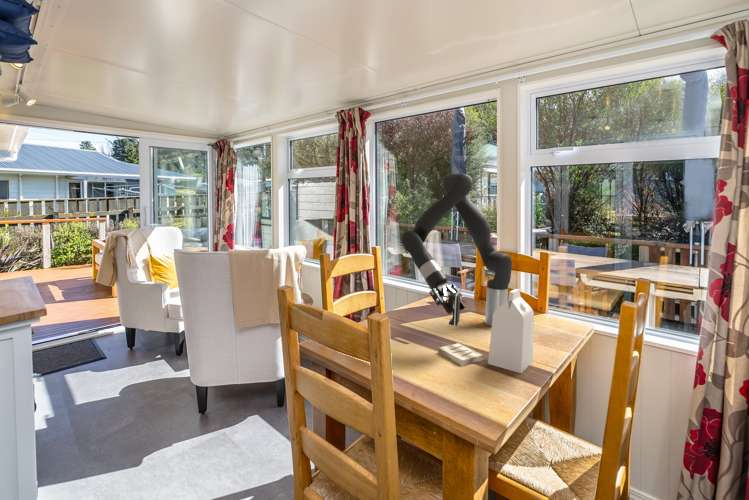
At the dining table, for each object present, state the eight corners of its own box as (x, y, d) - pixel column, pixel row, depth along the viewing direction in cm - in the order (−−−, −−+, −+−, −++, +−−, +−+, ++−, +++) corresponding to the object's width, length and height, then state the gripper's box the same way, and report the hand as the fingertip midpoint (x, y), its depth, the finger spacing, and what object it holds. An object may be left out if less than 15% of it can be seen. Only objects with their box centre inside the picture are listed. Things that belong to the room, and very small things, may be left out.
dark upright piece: (449, 320, 148) (450, 290, 146) (459, 321, 146) (461, 291, 145) (446, 325, 141) (447, 294, 140) (456, 326, 140) (458, 295, 138)
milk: (501, 353, 145) (504, 285, 142) (532, 361, 138) (537, 290, 135) (487, 363, 136) (491, 291, 133) (521, 373, 129) (525, 296, 125)
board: (458, 348, 150) (458, 342, 150) (483, 360, 139) (483, 354, 138) (438, 352, 145) (438, 347, 145) (462, 365, 134) (462, 360, 134)
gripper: (427, 271, 142) (452, 308, 135) (450, 266, 152) (474, 301, 145) (415, 283, 146) (439, 320, 140) (438, 278, 156) (461, 312, 149)
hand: (457, 310), depth 142 cm, fingers closed on dark upright piece, 7 cm apart
